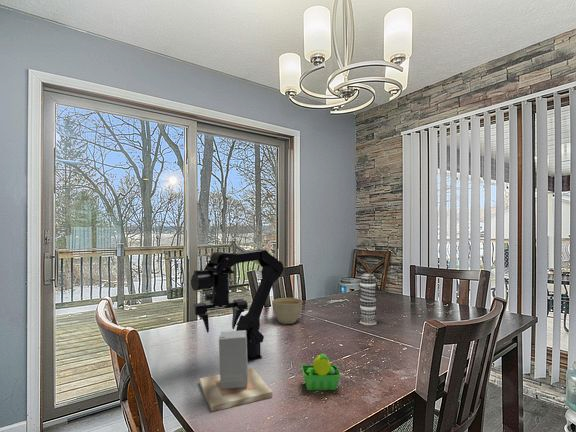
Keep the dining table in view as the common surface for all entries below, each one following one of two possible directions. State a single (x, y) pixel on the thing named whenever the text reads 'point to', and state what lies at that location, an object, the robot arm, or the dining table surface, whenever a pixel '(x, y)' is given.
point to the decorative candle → (368, 299)
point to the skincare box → (233, 359)
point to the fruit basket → (321, 374)
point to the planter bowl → (287, 309)
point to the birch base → (234, 391)
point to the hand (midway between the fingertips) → (220, 330)
